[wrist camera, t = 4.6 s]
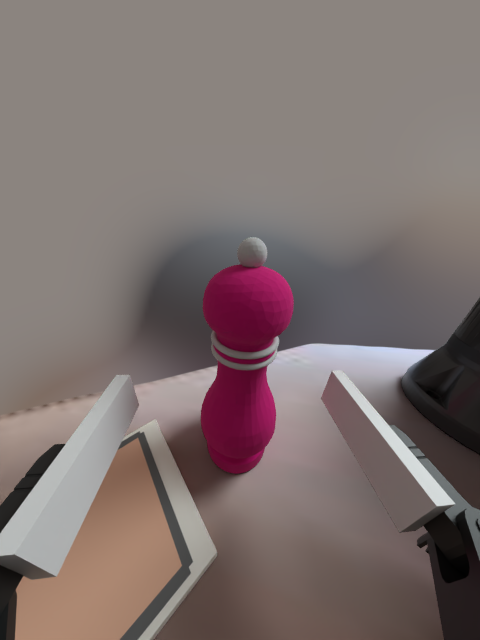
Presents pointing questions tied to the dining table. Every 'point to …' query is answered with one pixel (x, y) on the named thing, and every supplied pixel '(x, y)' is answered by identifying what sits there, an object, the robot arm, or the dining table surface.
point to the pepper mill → (243, 357)
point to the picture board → (124, 554)
